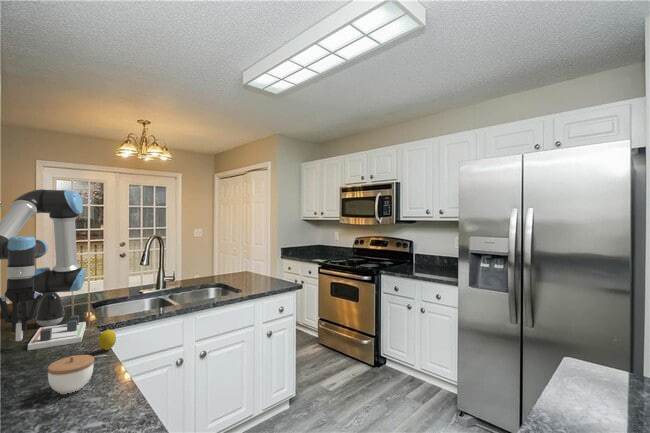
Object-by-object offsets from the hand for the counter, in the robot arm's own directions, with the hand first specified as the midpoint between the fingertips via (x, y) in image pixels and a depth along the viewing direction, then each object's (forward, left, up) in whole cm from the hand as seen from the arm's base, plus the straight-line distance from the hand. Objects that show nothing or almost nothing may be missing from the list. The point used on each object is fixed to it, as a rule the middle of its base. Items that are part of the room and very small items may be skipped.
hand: (19, 339), depth 120 cm
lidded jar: (+45, +20, -4) cm, 49 cm away
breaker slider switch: (0, +8, -1) cm, 8 cm away
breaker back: (-16, +15, -1) cm, 22 cm away
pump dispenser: (-29, +5, -4) cm, 30 cm away
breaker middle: (-8, +15, -1) cm, 17 cm away
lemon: (+18, +28, -4) cm, 33 cm away
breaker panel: (-8, +11, -4) cm, 14 cm away
